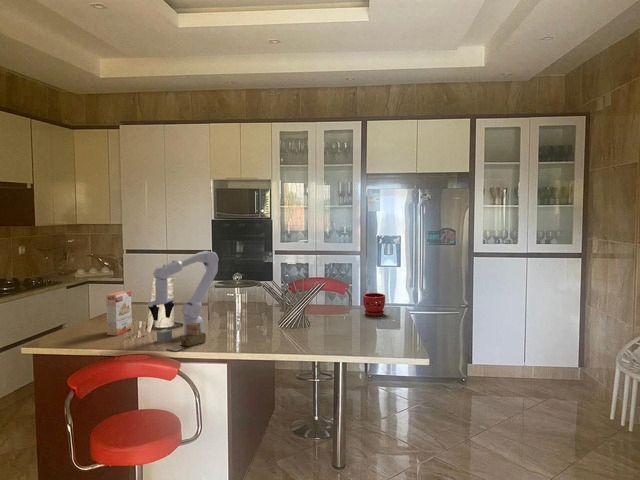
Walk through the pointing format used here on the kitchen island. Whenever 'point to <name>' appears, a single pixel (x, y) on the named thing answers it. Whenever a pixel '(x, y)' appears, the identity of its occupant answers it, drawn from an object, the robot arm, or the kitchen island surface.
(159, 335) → the slate grey cube
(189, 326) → the walnut cube
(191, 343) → the stone block
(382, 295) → the plant pot
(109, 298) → the cracker box
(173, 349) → the tile
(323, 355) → the kitchen island surface
